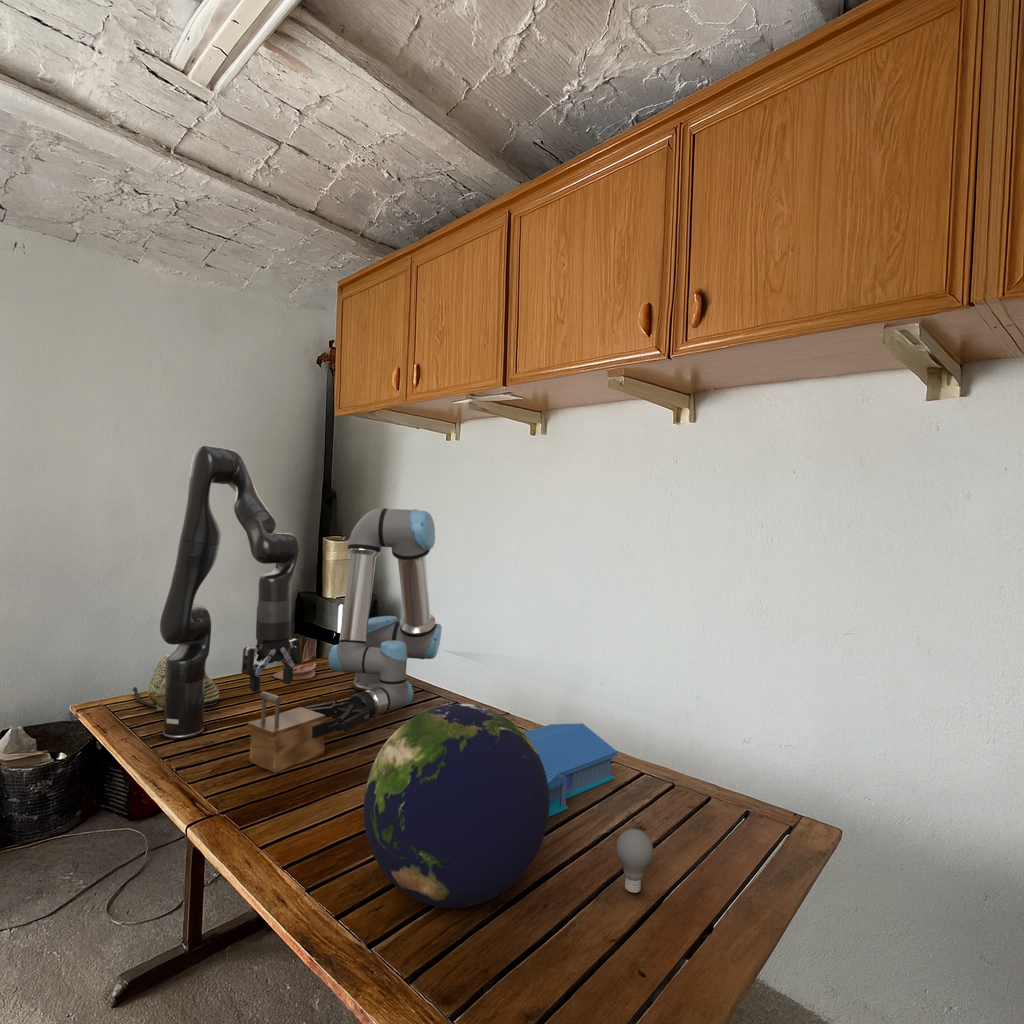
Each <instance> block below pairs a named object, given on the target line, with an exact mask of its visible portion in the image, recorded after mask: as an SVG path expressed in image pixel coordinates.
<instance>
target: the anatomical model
mask: <svg viewBox="0 0 1024 1024" xmlns="http://www.w3.org/2000/svg"><path fill="white" fill-rule="evenodd" d="M316 667H317V663H316V662H309V663H305V664H302V665H298V666H297V665H296V666H294V668H293V679H292V681H293V680H294V681H298V680H307V679H311V678H313V677H315V676H316V671H314V670H315V669H316ZM272 677H273V678H275V679H277V680H281V681H283V670H281V671H278V672H275V673H274V674H272Z"/></svg>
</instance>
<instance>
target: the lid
mask: <svg viewBox="0 0 1024 1024" xmlns="http://www.w3.org/2000/svg"><path fill="white" fill-rule="evenodd" d="M259 698H260V700H261V715H260V718H259V719H256V720H253V721H249V722H247V727H248V728H250V729H251V728H253V729H256V730H258V731H261V732H264V733H266V734H269V735H271V736H275V735H278V734H281V733H284V732H287V731H290V730H293V729H296V728H299V727H302V726H305V725H308V724H311V723H314V722H317V721H320V720H323V719H326V718H327V717H326V715H323V714H320V713H317V712H314V711H311V710H308V709H305V708H303V706H299V707H295V708H293V709H289V710H285V711H282V712H280V704H281V703H282V701H283V698H282V696H281V695H280V696H279V695H276V694H273V693H270V692H268V691H265V690H263V691H261V692H260V694H259ZM267 702H270V703H273V704H274V714H272V715H269V716H266V715H267V711H266V710H267Z"/></svg>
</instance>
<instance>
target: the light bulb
mask: <svg viewBox="0 0 1024 1024" xmlns="http://www.w3.org/2000/svg"><path fill="white" fill-rule="evenodd" d="M615 849H616V854H617V857H618V859H619V861H620V863H621V865H622V867H623V873H624V874H623V875H624V876H625V878H624V888H625V890H627V891H628V892H630V893H634V894H635V893H639V892H640V891H641V889H642V887H641V886H642V879H643V877H644V875H645V871H646V868H647V867H648V866H649V864H650V863H651V861H652V859H653V855H654V847H653V843H652V841H651V838H649V836H648V835H647V834H646V833H645V832H643V831H642V830H641V829H636V828H629V829H627V830H625V831H623V832H622V833H621V834H620V835H619V837H618V839H617V841H616V847H615Z"/></svg>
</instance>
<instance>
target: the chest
mask: <svg viewBox="0 0 1024 1024" xmlns="http://www.w3.org/2000/svg"><path fill="white" fill-rule="evenodd" d="M324 722H326V718H325V719H323V720H320V721H317V722H314V723H311V724H308V725H305V726H302V727H299V728H296V729H293V730H290V731H287V732H284V733H281V734H278V735H275V736H271V735H269V734H266V733H264V732H261V731H258V730H256V729H253V728H251V727H250V740H249V741H250V743H249V763H252V764H253V765H257V766H259V767H261V768H263V769H266V770H268V771H270V772H273V773H278V772H280V771H282V770H286V769H288V768H290V767H293V766H296V765H298V764H301V763H303V762H307V761H309V760H311V759H314V758H316V757H319V756H321V755H324V754H325V746H326V743H325V742H326V734H324V735H322V736H319V737H316V738H312V726H315V725H318V724H321V723H324Z"/></svg>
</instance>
